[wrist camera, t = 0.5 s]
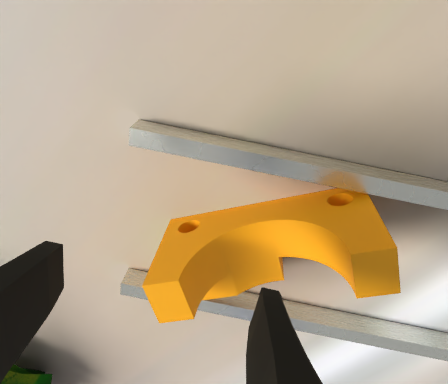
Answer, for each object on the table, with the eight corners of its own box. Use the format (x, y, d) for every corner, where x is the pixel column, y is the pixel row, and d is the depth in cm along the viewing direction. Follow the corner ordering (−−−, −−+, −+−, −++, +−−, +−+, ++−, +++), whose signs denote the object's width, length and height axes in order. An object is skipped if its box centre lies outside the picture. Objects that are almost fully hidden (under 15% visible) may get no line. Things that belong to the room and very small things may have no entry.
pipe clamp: (191, 269, 26) (170, 346, 20) (171, 218, 24) (141, 285, 18) (368, 242, 23) (402, 320, 17) (361, 182, 21) (397, 247, 16)
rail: (535, 361, 26) (566, 402, 24) (128, 278, 26) (112, 309, 24) (658, 224, 21) (716, 257, 18) (138, 119, 21) (120, 136, 18)
